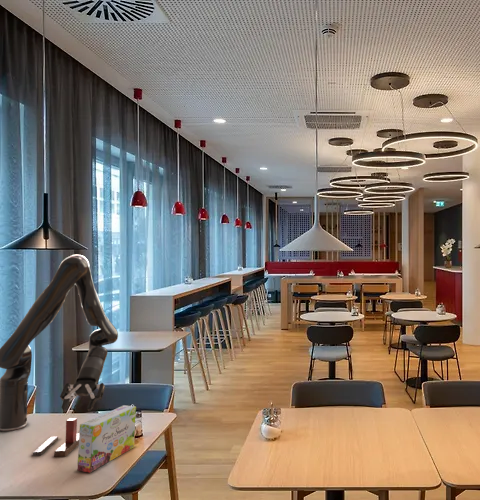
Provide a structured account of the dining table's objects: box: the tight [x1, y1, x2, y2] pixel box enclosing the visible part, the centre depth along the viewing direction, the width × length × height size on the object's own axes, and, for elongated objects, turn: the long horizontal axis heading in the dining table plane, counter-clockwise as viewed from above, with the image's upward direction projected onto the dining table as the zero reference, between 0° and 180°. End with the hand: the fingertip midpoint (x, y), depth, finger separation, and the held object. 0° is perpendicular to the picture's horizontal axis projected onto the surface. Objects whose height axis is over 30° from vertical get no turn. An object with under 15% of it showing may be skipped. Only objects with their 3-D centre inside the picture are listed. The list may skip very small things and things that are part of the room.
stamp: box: [53, 417, 79, 458], centre depth 167 cm, size 4×16×10 cm, turn 7°
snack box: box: [77, 404, 137, 473], centre depth 158 cm, size 21×6×15 cm, turn 168°
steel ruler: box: [32, 436, 59, 457], centre depth 166 cm, size 2×14×1 cm, turn 11°
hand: (76, 410), depth 171 cm, fingers open, 8 cm apart
